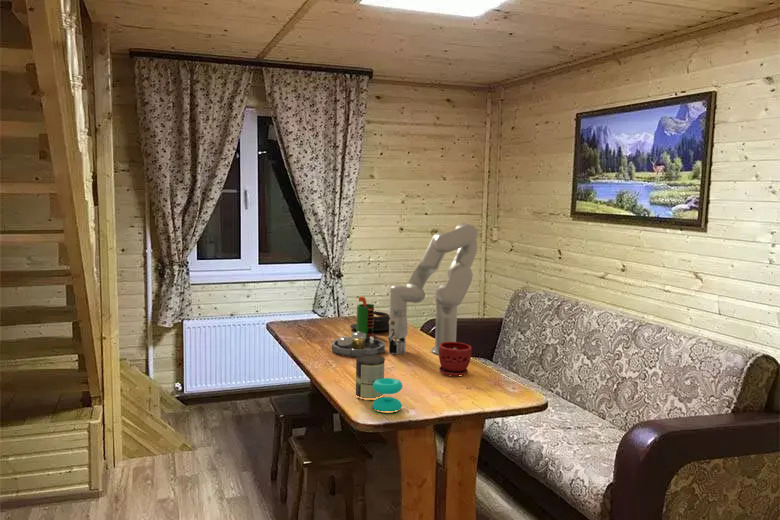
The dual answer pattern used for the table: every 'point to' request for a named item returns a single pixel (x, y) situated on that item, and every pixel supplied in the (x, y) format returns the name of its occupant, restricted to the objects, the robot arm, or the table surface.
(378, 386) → the donuts
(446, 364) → the plant pot
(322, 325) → the table surface
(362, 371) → the coffee can
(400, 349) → the planet gear
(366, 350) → the carrier
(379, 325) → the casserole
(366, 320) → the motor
